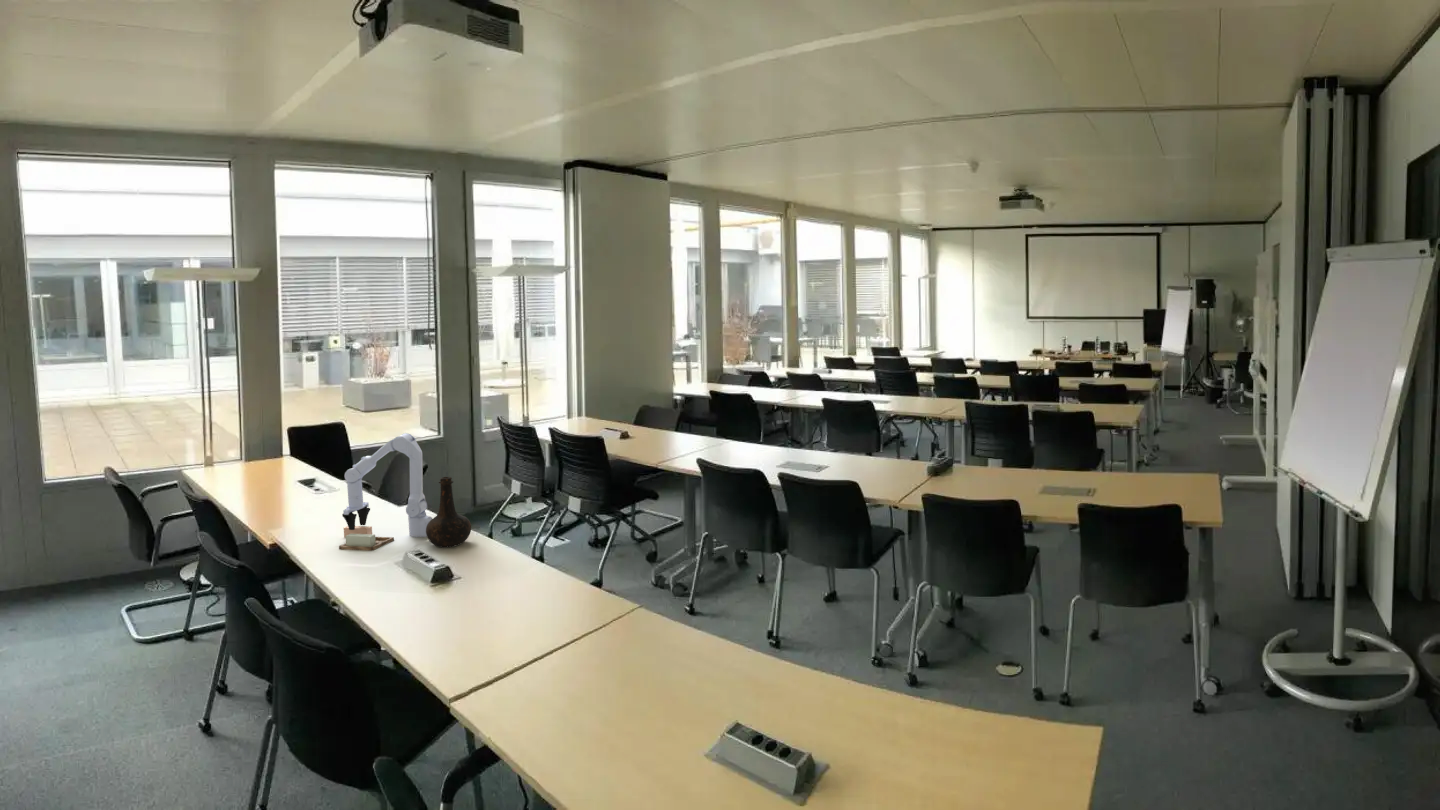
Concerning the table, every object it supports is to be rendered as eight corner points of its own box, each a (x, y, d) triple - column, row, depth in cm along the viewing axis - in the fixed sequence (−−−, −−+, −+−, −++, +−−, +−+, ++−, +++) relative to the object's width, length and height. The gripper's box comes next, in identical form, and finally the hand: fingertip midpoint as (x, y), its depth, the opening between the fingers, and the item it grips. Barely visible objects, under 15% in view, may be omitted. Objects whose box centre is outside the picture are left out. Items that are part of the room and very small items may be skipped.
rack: (394, 542, 355) (393, 537, 354) (372, 552, 340) (372, 547, 340) (361, 540, 358) (361, 536, 357) (339, 550, 343) (338, 546, 343)
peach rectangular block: (372, 537, 363) (371, 526, 362) (367, 540, 359) (366, 528, 359) (349, 537, 365) (348, 525, 364) (344, 539, 361) (343, 527, 361)
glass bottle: (442, 553, 337) (437, 484, 333) (418, 545, 348) (413, 478, 345) (480, 543, 350) (477, 476, 347) (456, 536, 362) (452, 471, 358)
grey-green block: (375, 546, 346) (375, 534, 345) (370, 548, 342) (369, 536, 342) (351, 545, 348) (350, 533, 347) (346, 547, 344) (345, 535, 344)
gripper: (357, 491, 368) (359, 522, 369) (336, 499, 353) (338, 531, 355) (372, 492, 366) (374, 523, 368) (351, 500, 352) (353, 532, 354)
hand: (357, 527), depth 361 cm, fingers open, 7 cm apart
